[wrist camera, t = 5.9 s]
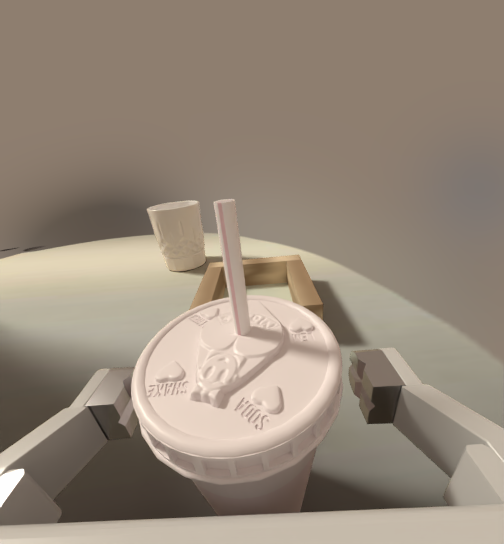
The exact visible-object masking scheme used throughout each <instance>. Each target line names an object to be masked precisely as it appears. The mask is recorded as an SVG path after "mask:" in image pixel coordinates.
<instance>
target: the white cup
mask: <svg viewBox="0 0 504 544" xmlns="http://www.w3.org/2000/svg"><path fill="white" fill-rule="evenodd" d="M147 211H148V214H149V218H150V221H151V224H152V226H153V230H154V233H155V236H156V239H157V242H158V244H159V247H160V250H161V253H162V254H163V258H164V261H165V264H166V267H167V268H168V269H169V270H170V271H187V270H191V269H195V268H197V267H199V266H201V265H203V264H204V263H205V262H206V256H205V250H204V246H205V244H204V235H203V228H202V221H201V214H200V207H199V202H198V201H179V202H172V203H165V204H160V205H156V206H152V207H149V208H148V209H147Z"/></svg>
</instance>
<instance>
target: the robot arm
mask: <svg viewBox="0 0 504 544" xmlns="http://www.w3.org/2000/svg"><path fill="white" fill-rule="evenodd" d="M350 360H351V362H352V365H351V366H350V367H349V381H350V385H351V388H352V390H353V393H354V395H356V396H357V397H358V398H359V399H360V402H359V407H360V409H361V411H362V413H363V416H364V418H365V420H366V422H367V424H386V423H393V425H394V426H395V427H396V428H397V429H398V430H399V431H400V432H401V433H402V434H403V435H405V436H406V437H407V438H408V439H409V440H410V441H411V442H412V443H413V444H414V445H415V446H416V447H418V448H419V449H420V450H421V451H422V452H423V453H424V454H425V455H426V456H427V457H428V458H429V459H431V460H432V461H433V462H434V463H435V464H436V465H437V466H438V467H439V468H440V469H441V470H443V471H444V472H445V473H446V474H447V475H448V476H449V477H450V478H451V479H450V482H449V484H448V486H447V488H446V490H445V493H444V496H443V498H444V500H445V501H446V503H447V505H448V506H443V507H419V508H396V509H373V510H349V511H326V512H303V513H280V514H257V515H234V516H211V517H188V518H165V519H142V520H119V521H96V522H73V523H57V522H58V520H59V518H60V517H61V515H62V513H61V509H60V508H59V507H58V506H57V504H56V503H55V502H54V501H53V500H54V498H55V497H56V496H57V495H58V494H59V493H60V492H61V491H62V490H63V489H64V488H65V487H66V486H67V485H68V484H69V483H70V481H71V480H72V479H73V478H74V477H75V476H76V475H77V474H78V473H79V472H80V471H81V470H82V469H83V468H84V467H85V466H86V464H87V463H88V462H89V461H90V460H91V459H92V458H93V457H94V456H95V455H96V454H97V453H98V452H99V451H100V450H101V449H102V447H103V446H104V445H105V444H106V443H107V442H108V440H114V439H125V438H131V437H132V435H133V433H134V431H135V428H136V426H137V424H138V422H139V419H138V417H137V415H136V412H135V409H134V407H133V402H132V396H131V384H132V377H133V372H134V369H135V367H126V368H110V369H100V370H98V371H97V372H96V373H95V374H94V375H93V377H92V378H91V379H90V381H89V382H88V383H87V385H86V386H85V387H84V389H83V390H82V391H81V393H80V394H79V395H78V397H77V398H76V399H75V401H74V402H73V403H72V404H71V406H70V407H69V408H64V409H63V410H62V411H60V412H59V413H57V414H56V415H54V416H53V417H52V418H50V419H49V420H47V421H46V422H44V423H43V424H42V425H40V426H39V427H37V428H36V429H35V430H33V431H32V432H30V433H29V434H27V435H26V436H25V437H23V438H22V439H20V440H19V441H17V442H16V443H15V444H13V445H12V446H10V447H9V448H7V449H6V450H5V451H3V452H2V453H0V544H504V429H503V428H502V427H500V426H498V425H497V424H495V423H493V422H491V421H490V420H488V419H486V418H485V417H483V416H481V415H479V414H478V413H476V412H474V411H473V410H471V409H469V408H468V407H466V406H464V405H462V404H461V403H459V402H457V401H456V400H454V399H452V398H451V397H449V396H447V395H445V394H444V393H442V392H440V391H439V390H437V389H435V388H433V387H432V386H430V385H428V384H424V385H423V383H422V382H421V381H420V379H419V378H418V377H417V376H416V374H415V373H414V372H413V370H412V369H411V368H410V367H409V365H408V364H407V363H406V361H405V360H404V359H403V358H402V356H401V355H400V354H399V352H398V351H397V350H396V349H395V348H383V349H371V350H359V351H352V352H351V354H350Z"/></svg>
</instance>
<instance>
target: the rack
mask: <svg viewBox="0 0 504 544" xmlns="http://www.w3.org/2000/svg"><path fill="white" fill-rule="evenodd" d="M242 262H243V270H244V278H245V286H252V285H263V284H275V283H288V287H289V290H290V294H291V298H292V301H293V302H294V303H296V304H298V305H301V306H303V307H305V308H306V309H308V310H310V311H311V312H313V313H314V314H316V315H317V316H318V317H319V318H321V319H322V320H323V303H322V301H321V299H320V297H319V295H318V293H317V291H316V289H315V287H314V285H313V283H312V281H311V279H310V277H309V274H308V272H307V270H306V268H305V266H304V264H303V262H302V260H301V258H300V256H299V255H291V256H280V257H269V258H258V259H247V260H242ZM225 288H227V282H226V276H225V270H224V264H223V262H214V263H209V265H208V268H207V270H206V272H205V275H204V277H203V279H202V282H201V284H200V286H199V288H198V291H197V293H196V295H195V298H194V300H193V302H192V305H191V307H190V309H189V310H191V309H193V308H195V307H197V306H200V305H203V304H205V303H208V302H211V301H215V300H218V299H222V298H223V296H224V291H225Z"/></svg>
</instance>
